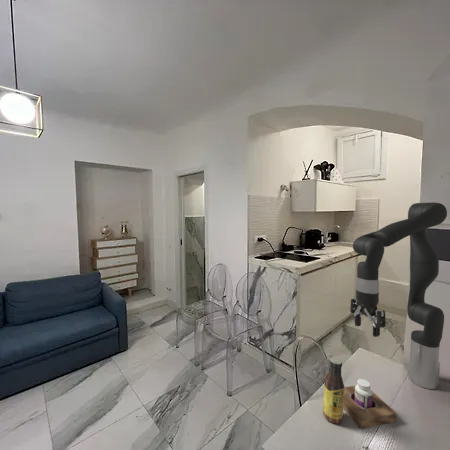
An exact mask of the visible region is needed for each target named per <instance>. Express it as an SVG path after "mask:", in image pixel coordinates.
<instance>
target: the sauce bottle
mask: <svg viewBox="0 0 450 450" xmlns="http://www.w3.org/2000/svg"><path fill="white" fill-rule="evenodd" d="M328 360H329V361H328V363H329V370H328V372H327V373H326V375H325V376H324V385H323V401H322V402H323V404H322V414H323V416H324V418H325V419H326V420H327V421H328V422H330V423H333V424H340V423H341V422H342V419H343V417H344V409H343V403H344V387H345V384H344V381H343V377H342V367H343V361H342V360H341V359H340V358H338V357H333V356H331V357H330V358H329V359H328Z"/></svg>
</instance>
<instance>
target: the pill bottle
mask: <svg viewBox="0 0 450 450" xmlns="http://www.w3.org/2000/svg"><path fill="white" fill-rule="evenodd" d="M354 386H355V403H356V404H357V405H358V406H360V407H362V408H365V409H368V408H372V391H373V390H372V389H371V383H370V382H369V381H368V380H367V379H364V378H363V379H362V378H358V379H357V383H356V385H354Z"/></svg>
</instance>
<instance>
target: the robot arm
mask: <svg viewBox="0 0 450 450" xmlns="http://www.w3.org/2000/svg"><path fill="white" fill-rule="evenodd" d="M447 217H448V210H447V207H446V206H445V205H444V204H443V203H440V202H434V201H433V202H417V203H412V204H411V205H410V206H409V208H408V211H407V218H405V219H402V220H399V221H396V222H393V223H389V224H387V225H385V226H384V227H382V228H380V229H378V230H376V231H373V232H369V233H366V234H362V235H360V236H359V237H357V238H356V239H355V240H354V241H353V244H352V249H353V251H354V252H355V254H358V255H360V256H365V257H366V258H365V260H364V261H360V262H358V263H357V266H356V281H355V298H351V299H350V308H349V309H350V313H351V314H352V315H353V316H354V326H356V327H360V326H361V325H362V317H361V316H362V315H364V316H365V317H367V319H368V320H369V321H370V322H371V324H372V336H373V337H374V338H376V337H378V338H379V336H380V335H381V328H386V327H387V325H386V323H387V322H386V311H385V310H380V309H378V304H379V301H380V300H379V299H380V297H379V295H380V282H379V272H380V271H379V269H380V265H381V263H382V259H383V258H384V254H385V248H388V247H390V246H392V245H394V244H396V243H398V242H400V241H402V240H404V239H405V238H407V237H409V252H410V253H409V254H410V255H409V291H408V298H407V299H408V300H407V306H406V308H407V309H406V312H407V316H408V319H410V321H413V322H414V323H416V324H418V325H421V326H423V330H420V329H419V330H417V329H415V330H412V331H411V333H410V344H409V345H410V349H409V365H408V366H409V368H408V378H409V380H410V381H411V382H412V383H414V384H416V386H419V387H421V388H424V389H428V390H436V389H437V388H438V386H439V385H440V371H441V369H440V368H441V362H440V343H441V341H442V338H443V333H444V332H443V331H444V326H445V325H444V324H445V314H444V311H443V310H442V309H441V308H440V307H439V306H434V305H432V304H429V303H426V302H425V298H426V297H425V295H426V290H427V289H428V288H429V287H430V285H431V284H433V282H434V281H435V280H436V279H437V278H438V276H439V273H440V271H439V270H440V261H439V260H440V258H439V255H438V253H437V252H436V250H435V249H434V248H435V247H433V246H432V244H431V243H430V241H429V239H428V237H427V233H426V229H429V228H433V227H436V226H438V225H441V224H442V223H443V222H445V220H446V219H447Z"/></svg>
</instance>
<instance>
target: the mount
mask: <svg viewBox="0 0 450 450" xmlns="http://www.w3.org/2000/svg"><path fill="white" fill-rule="evenodd" d="M355 386H356V385H350V386H344V403H343V411H345V413H346V414H347V415H348V416H349V417H350V418H351V419H352V421H353V422H354V423H355V424H356V425H357V426H358V427H359V428H360V430H365V429H369V428H373V427H378V426H382V425H388V424H392V423H397V419H398V418H397V416H398V415H397V414H398V413H397V411H395V410H394V409H393V408H392V407H391V406H389V404H387V403H386V401H384V400H383V399H382V398H381V397H379V395H378V394H376V393H375V392H374V391H373V390H371V391H372V408H368V409H365V408H362V407H360V406H358V405H357V404H356V403H355Z"/></svg>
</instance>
